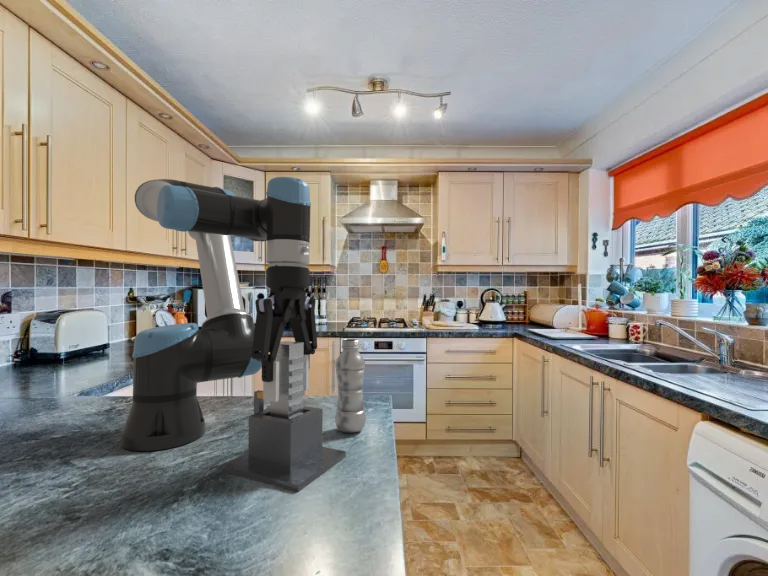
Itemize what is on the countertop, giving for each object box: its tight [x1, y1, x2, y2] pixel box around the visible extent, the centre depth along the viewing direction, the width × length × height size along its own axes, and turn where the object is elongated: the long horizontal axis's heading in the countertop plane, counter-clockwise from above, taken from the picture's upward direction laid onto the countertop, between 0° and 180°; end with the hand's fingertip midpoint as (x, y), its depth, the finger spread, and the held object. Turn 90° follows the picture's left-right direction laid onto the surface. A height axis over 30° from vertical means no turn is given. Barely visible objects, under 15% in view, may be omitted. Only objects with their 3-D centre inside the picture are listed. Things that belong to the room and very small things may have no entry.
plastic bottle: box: [334, 338, 366, 434], centre depth 84 cm, size 6×7×20 cm
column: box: [269, 340, 306, 420], centre depth 68 cm, size 5×4×20 cm
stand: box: [221, 390, 347, 492], centre depth 68 cm, size 16×14×12 cm
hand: (287, 394), depth 68 cm, fingers open, 8 cm apart
